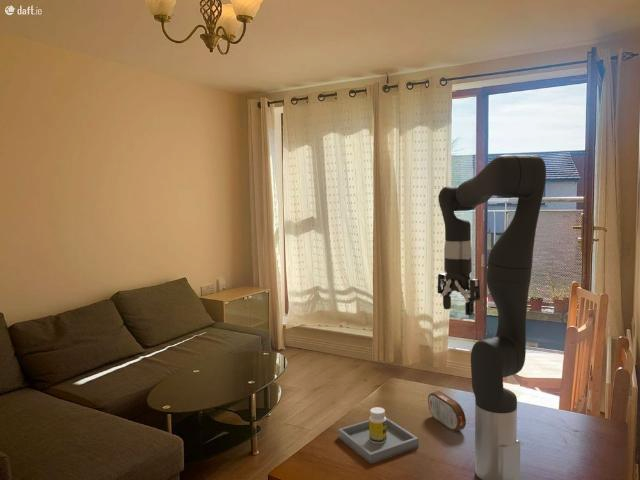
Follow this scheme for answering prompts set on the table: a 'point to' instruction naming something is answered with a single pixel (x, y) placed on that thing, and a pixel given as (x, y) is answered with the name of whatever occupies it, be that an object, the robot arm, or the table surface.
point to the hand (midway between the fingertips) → (457, 311)
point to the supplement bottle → (377, 426)
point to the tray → (372, 452)
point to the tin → (446, 411)
